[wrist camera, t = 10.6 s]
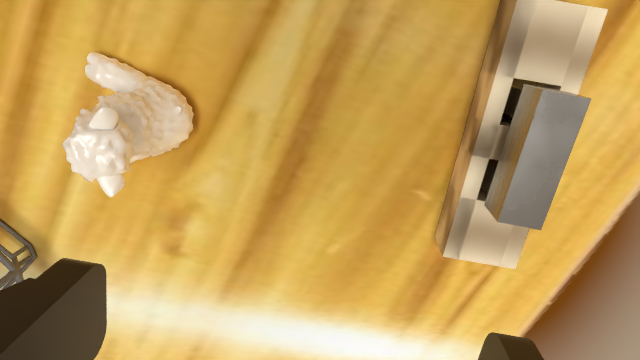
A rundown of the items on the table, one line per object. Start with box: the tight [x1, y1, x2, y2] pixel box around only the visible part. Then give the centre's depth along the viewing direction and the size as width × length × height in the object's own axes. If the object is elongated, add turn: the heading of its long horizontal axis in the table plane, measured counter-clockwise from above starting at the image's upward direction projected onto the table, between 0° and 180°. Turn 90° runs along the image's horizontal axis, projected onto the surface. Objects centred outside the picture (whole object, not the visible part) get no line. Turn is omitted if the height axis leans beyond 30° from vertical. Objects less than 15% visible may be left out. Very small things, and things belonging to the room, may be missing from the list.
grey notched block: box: [481, 84, 591, 230], centre depth 32 cm, size 9×3×8 cm, turn 170°
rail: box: [435, 0, 608, 269], centre depth 34 cm, size 20×6×4 cm, turn 171°
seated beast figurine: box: [63, 52, 194, 197], centre depth 31 cm, size 10×9×12 cm
